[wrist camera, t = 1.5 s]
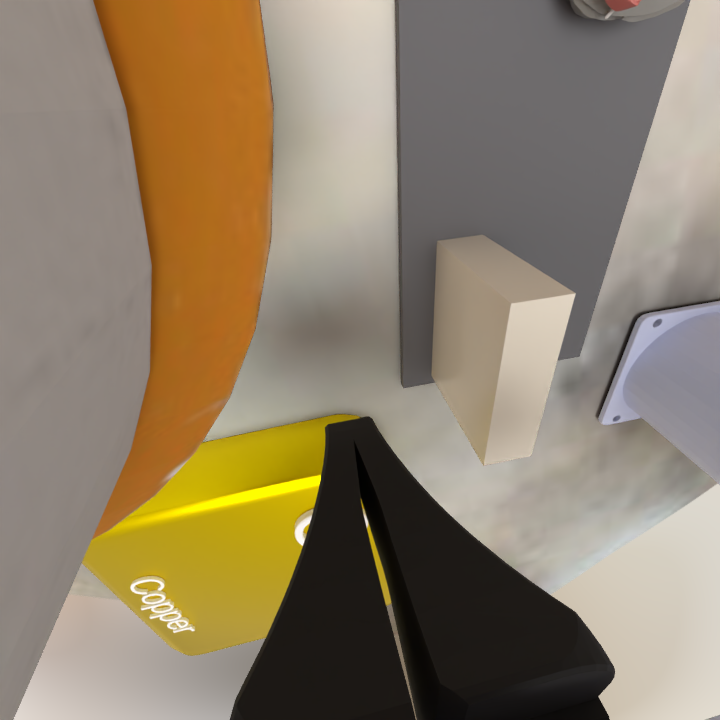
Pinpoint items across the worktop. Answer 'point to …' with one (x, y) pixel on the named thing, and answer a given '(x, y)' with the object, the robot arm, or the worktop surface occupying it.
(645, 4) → the figurine
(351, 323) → the worktop surface
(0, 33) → the canister
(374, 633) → the robot arm
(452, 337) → the tile
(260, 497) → the element tile
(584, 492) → the worktop surface
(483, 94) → the mat
